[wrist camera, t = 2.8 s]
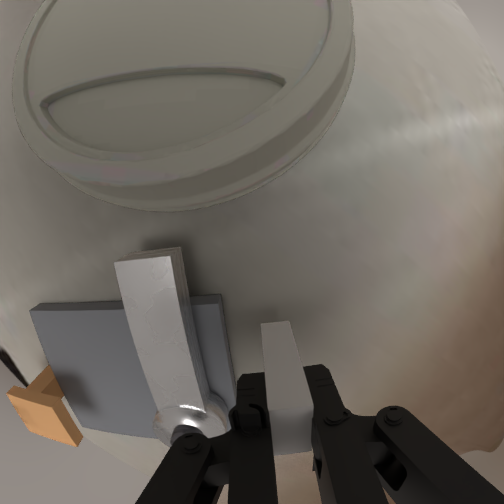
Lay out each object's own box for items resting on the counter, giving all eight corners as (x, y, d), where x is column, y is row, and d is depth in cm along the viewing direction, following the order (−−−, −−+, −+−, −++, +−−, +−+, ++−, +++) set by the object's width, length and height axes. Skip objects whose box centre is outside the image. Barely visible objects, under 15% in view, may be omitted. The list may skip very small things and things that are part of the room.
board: (39, 303, 17) (29, 310, 16) (220, 294, 17) (218, 303, 16) (88, 417, 20) (82, 426, 19) (243, 427, 20) (243, 440, 18)
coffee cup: (122, 149, 15) (-37, 116, 4) (204, 42, 14) (156, -101, 2) (235, 227, 16) (204, 319, 5) (320, 111, 15) (434, 2, 3)
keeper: (44, 355, 19) (6, 393, 12) (89, 360, 18) (52, 407, 12) (60, 391, 19) (29, 431, 13) (105, 398, 19) (77, 447, 13)
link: (232, 430, 18) (230, 465, 14) (170, 430, 18) (161, 462, 14) (197, 244, 15) (183, 260, 11) (117, 253, 15) (87, 270, 11)
